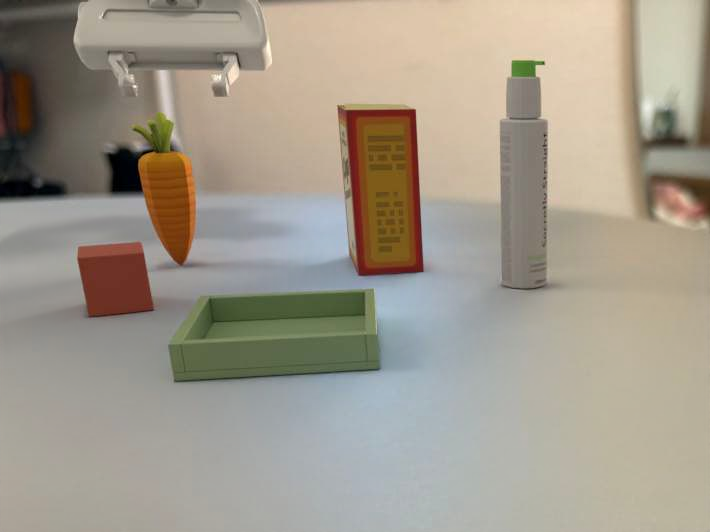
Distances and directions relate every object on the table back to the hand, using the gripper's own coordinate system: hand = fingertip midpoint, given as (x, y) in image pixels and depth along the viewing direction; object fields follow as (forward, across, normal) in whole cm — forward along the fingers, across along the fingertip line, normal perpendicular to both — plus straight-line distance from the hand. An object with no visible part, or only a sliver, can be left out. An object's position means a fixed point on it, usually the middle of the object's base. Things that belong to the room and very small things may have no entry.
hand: (174, 93), depth 92 cm
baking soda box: (+21, +21, +2) cm, 30 cm away
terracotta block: (+30, -2, -7) cm, 31 cm away
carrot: (+19, 0, +5) cm, 19 cm away
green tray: (+40, +13, -17) cm, 45 cm away
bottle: (+29, +34, -5) cm, 45 cm away
